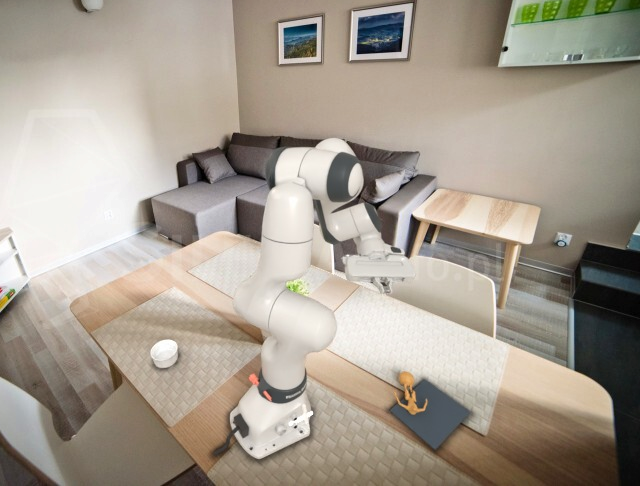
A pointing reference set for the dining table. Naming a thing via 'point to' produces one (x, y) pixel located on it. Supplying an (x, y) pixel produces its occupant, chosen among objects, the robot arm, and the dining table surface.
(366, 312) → the dining table surface
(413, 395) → the figurine
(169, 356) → the ramekin
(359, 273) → the robot arm
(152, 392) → the dining table surface
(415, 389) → the felt mat
